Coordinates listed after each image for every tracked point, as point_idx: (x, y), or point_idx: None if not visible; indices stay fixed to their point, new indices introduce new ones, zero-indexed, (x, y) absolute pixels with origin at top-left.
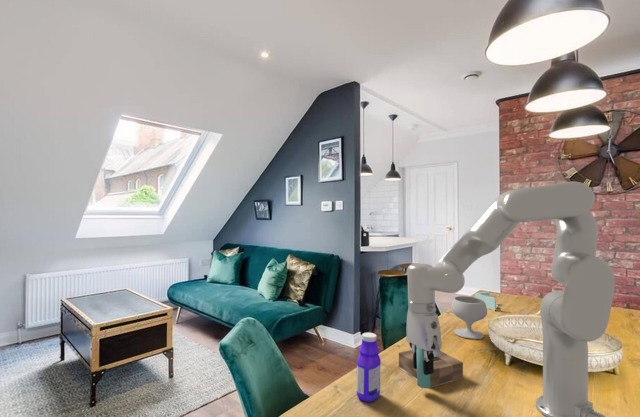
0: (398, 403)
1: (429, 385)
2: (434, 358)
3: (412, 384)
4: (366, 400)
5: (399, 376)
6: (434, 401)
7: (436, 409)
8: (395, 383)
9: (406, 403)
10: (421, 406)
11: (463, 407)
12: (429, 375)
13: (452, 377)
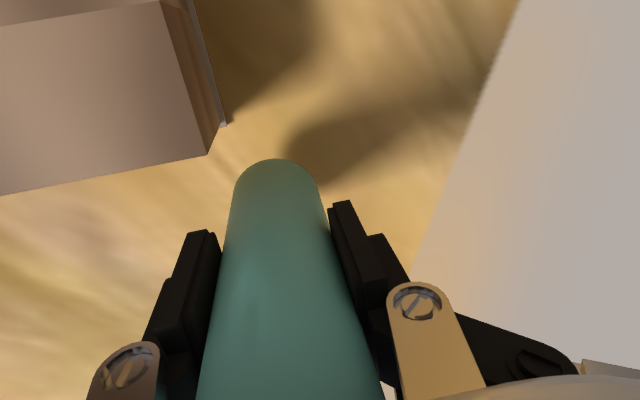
0: None
1: (314, 183)
2: (478, 327)
3: (166, 198)
4: None
5: (50, 233)
6: (365, 166)
7: (426, 193)
8: (147, 283)
9: None
10: None
11: (468, 35)
12: (323, 213)
13: None
